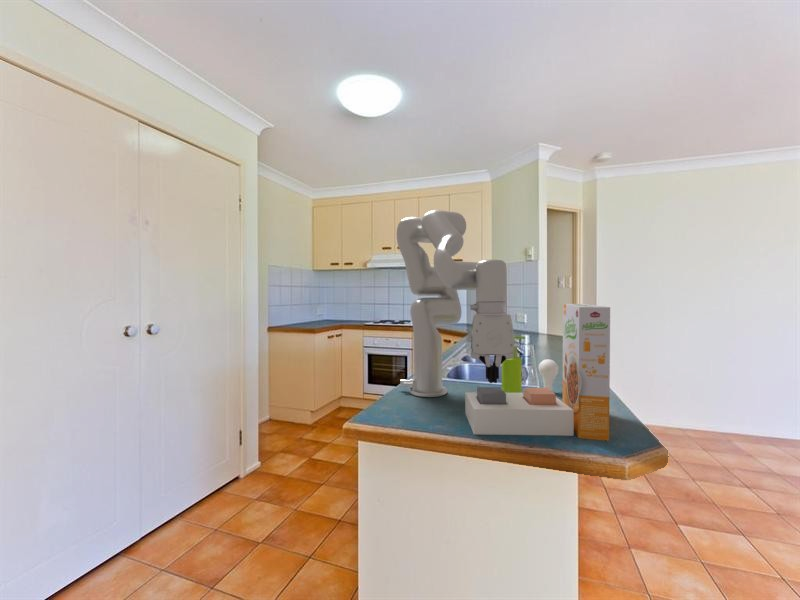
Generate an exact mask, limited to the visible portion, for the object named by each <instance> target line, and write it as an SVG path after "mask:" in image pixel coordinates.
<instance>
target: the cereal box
mask: <svg viewBox="0 0 800 600" xmlns="http://www.w3.org/2000/svg"><path fill="white" fill-rule="evenodd" d="M610 362H611V307H609V306H605V305H598V304H597V305H596V304H588V303H562V394H561V395H562V400H561V401H562V402H564V403H565V404H566V405H568V406H569V407H570V408H572V409H573V410H574V433H575V434H576V436H577V438H578V439H586V440H597V441H605V440H607V442H609V441H610V395H611V393H610V389H611V387H610V381H611V379H610V377H611V374H610V372H611V365H610Z"/></svg>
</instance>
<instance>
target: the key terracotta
mask: <svg viewBox="0 0 800 600" xmlns="http://www.w3.org/2000/svg"><path fill="white" fill-rule="evenodd" d="M522 393H523V399H524V400H525V401H526V402H527V403H528V404H530V405H556V397H557V394H556V392H553V390H552V391H551V390H549V389H548V388H544V387H523V392H522Z"/></svg>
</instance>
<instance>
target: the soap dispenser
mask: <svg viewBox="0 0 800 600" xmlns="http://www.w3.org/2000/svg"><path fill="white" fill-rule="evenodd" d="M514 339H521V340H522V339H523V340H525V339H526V337H525V336H522V335H515V334H514ZM513 354H514V358H511V359H507V360H505V361H504V362H503V363H502V364H501V389H502V390H503V391H504V392H505V393H523V392H522V386H523V385H522V383H523V382H522V381H523V380H522V377H523V376H522V372H523V371H522V369H523V367H522V361H523V359H522V357H520V356H518V346H516V345H515V344H514V353H513Z"/></svg>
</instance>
